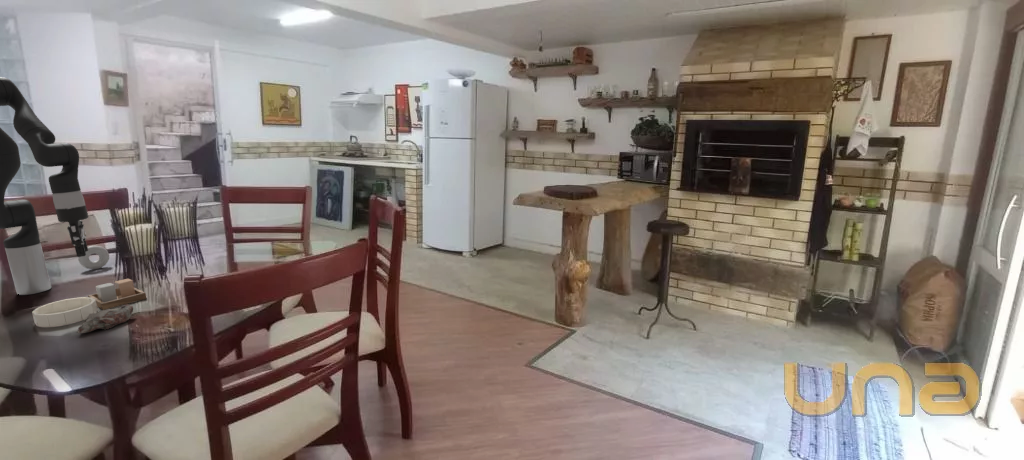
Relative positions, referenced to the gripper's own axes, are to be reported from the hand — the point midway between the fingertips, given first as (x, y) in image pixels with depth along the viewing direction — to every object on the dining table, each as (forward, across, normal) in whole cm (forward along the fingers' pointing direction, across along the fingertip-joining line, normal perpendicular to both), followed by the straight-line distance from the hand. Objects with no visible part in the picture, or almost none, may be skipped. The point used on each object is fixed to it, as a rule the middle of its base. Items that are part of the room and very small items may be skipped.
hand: (83, 253), depth 164 cm
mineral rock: (+19, +28, +4) cm, 34 cm away
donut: (+15, -50, -2) cm, 52 cm away
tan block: (+17, +2, +9) cm, 19 cm away
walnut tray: (+17, +3, +6) cm, 19 cm away
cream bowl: (+17, +12, -6) cm, 22 cm away
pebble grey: (+17, +4, +4) cm, 18 cm away
